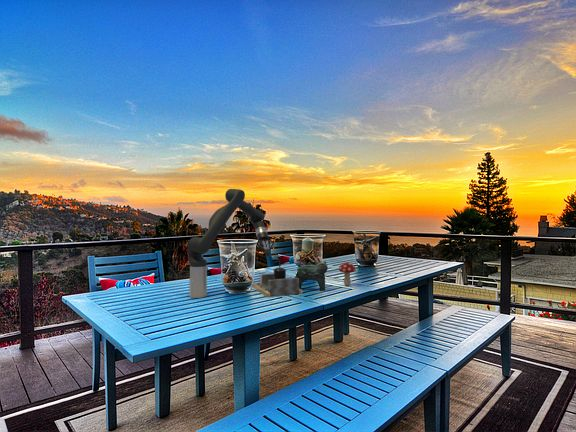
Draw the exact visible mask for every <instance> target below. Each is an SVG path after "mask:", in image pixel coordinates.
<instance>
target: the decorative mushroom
mask: <svg viewBox="0 0 576 432" xmlns="http://www.w3.org/2000/svg"><path fill="white" fill-rule="evenodd" d="M356 270H357V268H356V267H355V265H354V264H352V263H351V262H345V263H342V264H341V265H339V268H338V271H339V272H341V273H343V274H344V279H343V284H344V286H346V287H348V286H350V285H351V283H352V282H351V273H355V272H356Z"/></svg>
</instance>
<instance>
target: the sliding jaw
mask: <svg viewBox="0 0 576 432" xmlns="http://www.w3.org/2000/svg"><path fill="white" fill-rule="evenodd" d="M286 278H287V273H285V279H286ZM274 279H275V278H274V272H271V273H260V274H259V282H260V287H261V288H263V289H264V290H268V280H274Z"/></svg>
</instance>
